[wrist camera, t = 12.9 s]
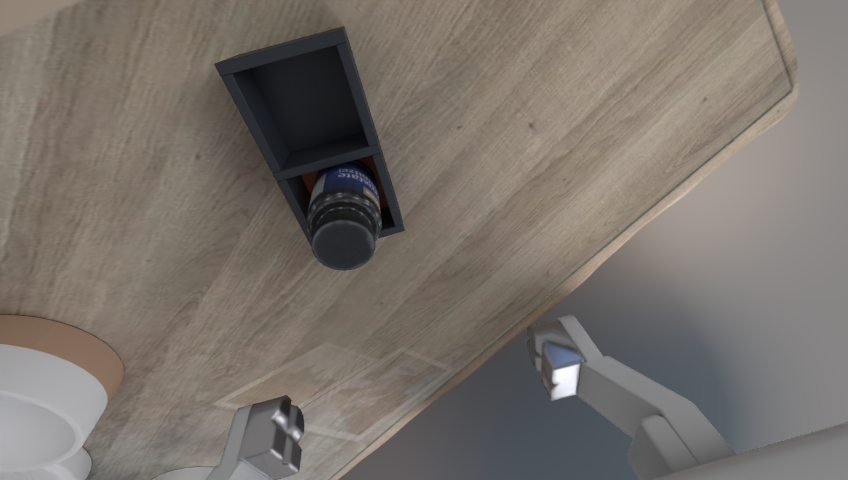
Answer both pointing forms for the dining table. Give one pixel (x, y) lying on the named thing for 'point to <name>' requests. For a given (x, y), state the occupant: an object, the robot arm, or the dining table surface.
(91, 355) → the bowl
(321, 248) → the pill bottle
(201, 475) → the cylinder
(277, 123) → the black divided organizer
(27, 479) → the plate
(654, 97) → the dining table surface
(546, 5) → the dining table surface
